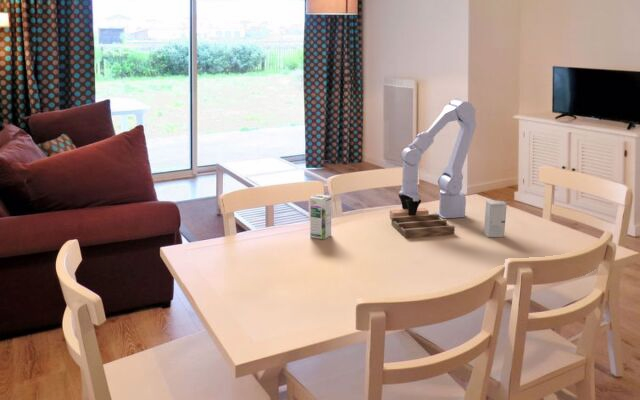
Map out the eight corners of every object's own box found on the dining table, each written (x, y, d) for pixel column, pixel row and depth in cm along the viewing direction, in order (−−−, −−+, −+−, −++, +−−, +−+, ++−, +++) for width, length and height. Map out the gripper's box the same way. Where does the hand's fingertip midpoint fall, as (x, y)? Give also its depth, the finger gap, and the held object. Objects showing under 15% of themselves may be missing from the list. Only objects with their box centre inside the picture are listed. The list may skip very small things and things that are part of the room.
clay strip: (424, 216, 252) (424, 207, 251) (428, 219, 248) (428, 210, 247) (389, 218, 249) (389, 210, 248) (393, 222, 245) (393, 213, 244)
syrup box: (309, 237, 227) (309, 197, 224) (317, 232, 232) (317, 193, 229) (324, 240, 225) (323, 199, 221) (332, 235, 230) (331, 195, 226)
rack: (437, 221, 244) (437, 213, 243) (454, 234, 230) (454, 226, 229) (391, 224, 241) (391, 217, 240) (405, 238, 226) (405, 229, 225)
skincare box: (488, 237, 226) (490, 204, 222) (483, 233, 230) (485, 200, 227) (505, 236, 226) (507, 203, 223) (499, 232, 231) (502, 199, 228)
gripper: (393, 176, 250) (392, 210, 254) (406, 185, 237) (405, 221, 240) (411, 175, 252) (410, 208, 255) (424, 184, 238) (423, 219, 242)
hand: (409, 214), depth 248 cm, fingers open, 6 cm apart
